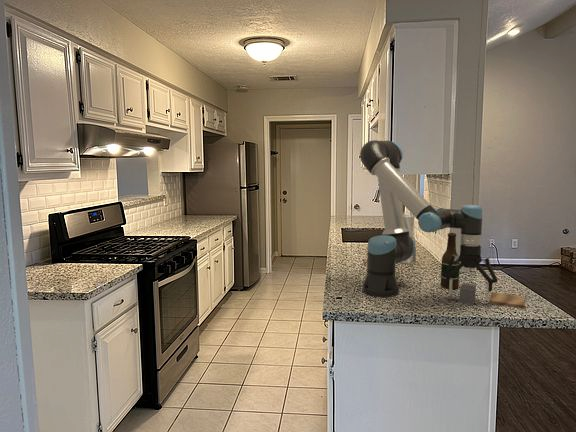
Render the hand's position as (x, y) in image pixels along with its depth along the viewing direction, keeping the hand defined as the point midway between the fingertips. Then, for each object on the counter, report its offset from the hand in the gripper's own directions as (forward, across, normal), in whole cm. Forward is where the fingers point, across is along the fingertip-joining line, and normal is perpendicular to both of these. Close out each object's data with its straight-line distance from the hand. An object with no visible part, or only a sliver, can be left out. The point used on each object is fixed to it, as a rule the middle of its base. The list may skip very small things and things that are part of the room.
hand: (468, 296), depth 174 cm
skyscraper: (+1, -36, +51) cm, 63 cm away
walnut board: (+2, +14, +6) cm, 15 cm away
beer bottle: (+2, -9, +16) cm, 19 cm away
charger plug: (+2, 0, 0) cm, 2 cm away
